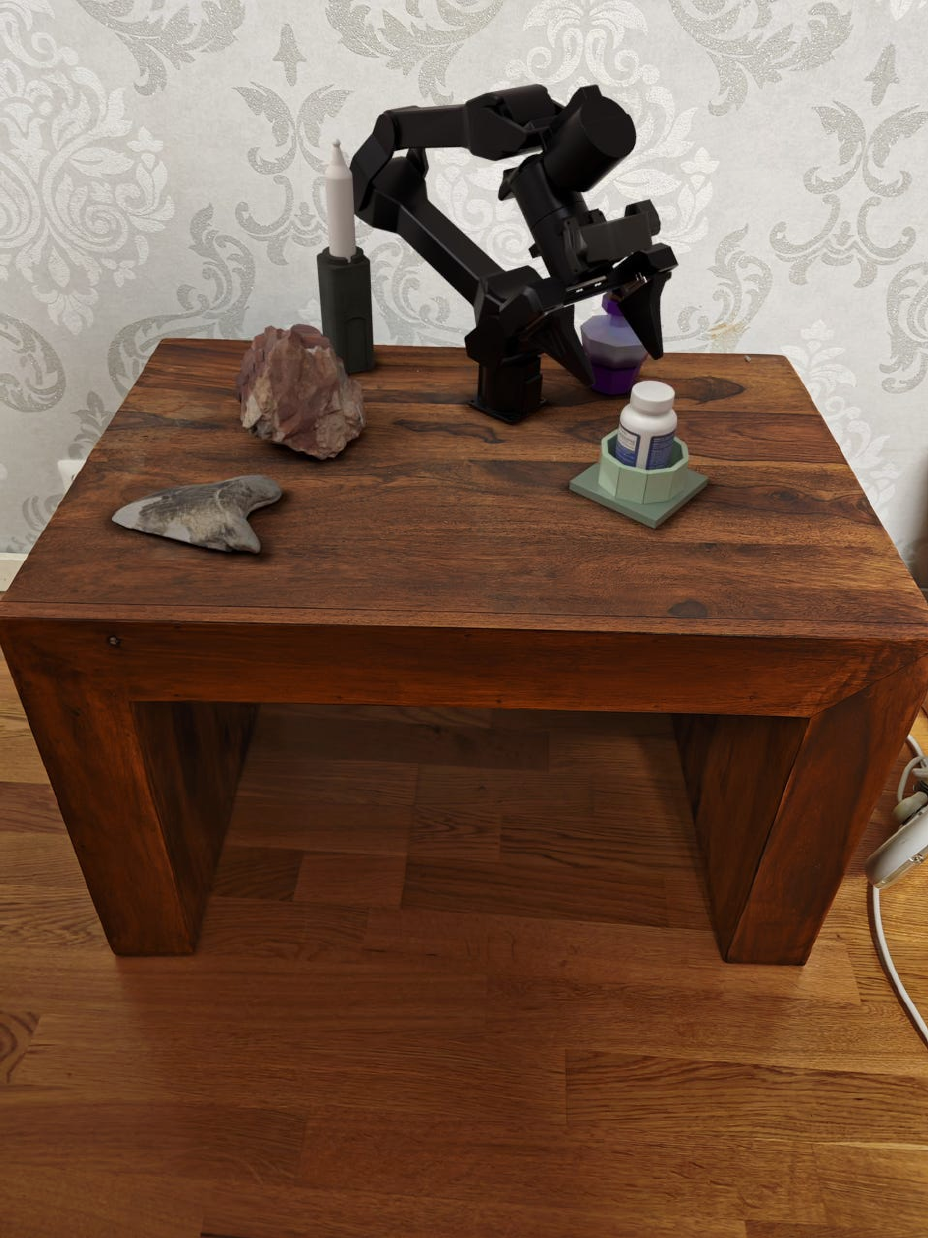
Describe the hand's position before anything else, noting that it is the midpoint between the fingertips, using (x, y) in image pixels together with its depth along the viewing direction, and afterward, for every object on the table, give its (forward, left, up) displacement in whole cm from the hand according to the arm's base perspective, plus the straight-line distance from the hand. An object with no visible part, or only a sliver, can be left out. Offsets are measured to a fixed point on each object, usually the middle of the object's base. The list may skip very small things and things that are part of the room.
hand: (626, 371), depth 92 cm
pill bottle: (+4, -1, -10) cm, 11 cm away
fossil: (-25, -34, -11) cm, 43 cm away
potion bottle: (-10, +15, -11) cm, 22 cm away
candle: (-36, -2, -11) cm, 38 cm away
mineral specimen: (-29, -16, -11) cm, 35 cm away
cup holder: (+4, -1, -11) cm, 12 cm away
